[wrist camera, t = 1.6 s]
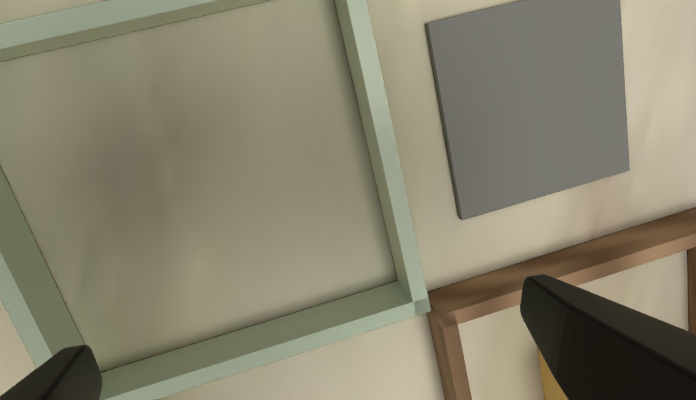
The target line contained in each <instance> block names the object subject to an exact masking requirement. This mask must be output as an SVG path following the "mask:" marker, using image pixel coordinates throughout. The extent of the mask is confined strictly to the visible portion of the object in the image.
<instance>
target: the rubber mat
mask: <svg viewBox="0 0 696 400" xmlns="http://www.w3.org/2000/svg"><path fill="white" fill-rule="evenodd" d="M425 26H426V32H427V38H428V43H429V49H430V55H431V61H432V66H433V72H434V78H435V83H436V89H437V95H438V101H439V106H440V112H441V118H442V123H443V129H444V135H445V140H446V146H447V152H448V158H449V163H450V169H451V175H452V180H453V186H454V192H455V197H456V203H457V209H458V215H459V218H460V219H461V220H465V219H468V218H472V217H475V216H478V215H482V214H485V213H488V212H492V211H495V210H498V209H502V208H505V207H508V206H512V205H515V204H519V203H522V202H525V201H529V200H532V199H535V198H539V197H542V196H545V195H549V194H552V193H555V192H559V191H562V190H565V189H569V188H572V187H576V186H579V185H582V184H586V183H589V182H592V181H596V180H599V179H602V178H606V177H609V176H612V175H616V174H619V173H623V172H626V171H629V170H630V169H629V151H628V133H627V115H626V98H625V80H624V62H623V44H622V27H621V9H620V0H521V1H517V2H513V3H509V4H505V5H501V6H497V7H492V8H488V9H484V10H480V11H476V12H472V13H468V14H464V15H459V16H455V17H451V18H447V19H443V20H439V21H435V22H431V23H427V24H425Z"/></svg>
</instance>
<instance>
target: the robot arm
mask: <svg viewBox="0 0 696 400" xmlns="http://www.w3.org/2000/svg"><path fill="white" fill-rule="evenodd" d="M520 311H521V315H522V318H523V320H524V322H525V324H526V326H527V328H528V330H529V331H530V333H531V335H532V337H533V339H534V341H535V343H536V345H537V347H538V349H539V350H540V352H541V354H542V356H543V358H544V360H545V362H546V364H547V366H548V368H549V369H550V371H551V373H552V375H553V376H554V378H555V380H556V381H557V383H558V385H559V386H560V388H561V389H562V391H563V392H564V394H565V395H566V397H567V398H568V400H696V334H694V333H691V332H689V331H686V330H684V329H681V328H679V327H676V326H674V325H671V324H669V323H666V322H664V321H661V320H659V319H656V318H654V317H651V316H649V315H646V314H644V313H641V312H639V311H636V310H634V309H631V308H629V307H626V306H624V305H621V304H619V303H616V302H614V301H611V300H608V299H606V298H603V297H601V296H598V295H596V294H593V293H591V292H588V291H586V290H583V289H581V288H578V287H576V286H573V285H571V284H568V283H566V282H563V281H561V280H558V279H556V278H553V277H551V276H548V275H546V274H538V275H531V276H527V277H526V278H525V279H524V281H523V288H522V296H521V304H520ZM101 390H102V376H101V373H100V370H99V368H98V365H97V363H96V360H95V357H94V355H93V352H92V350H91V348H90V347H89V346H88V345H85V344H84V345H77V346H70V347H66V348H63V349H62V350H60V351H59V352H58V353H56V354H55V355H54V356H52V357H51V358H50V359H48V360H47V361H46V362H45V363H43V364H42V365H41V366H39V367H38V368H37V369H35V370H34V371H33V372H31V373H30V374H29V375H28V376H26V377H25V378H24V379H22V380H21V381H20V382H18V383H17V384H16V385H14V386H13V387H12V388H11V389H9V390H8V391H7V392H5V393H4V394H3V395H1V396H0V400H99V399H100V395H101Z"/></svg>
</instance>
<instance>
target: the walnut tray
mask: <svg viewBox="0 0 696 400" xmlns="http://www.w3.org/2000/svg"><path fill="white" fill-rule="evenodd" d="M687 249H688V287H689V332H691V333H694V334H696V208H693V209H690V210H687V211H684V212H681V213H677V214H674V215H671V216H668V217H665V218H661V219H658V220H655V221H652V222H649V223H646V224H642V225H639V226H636V227H633V228H630V229H626V230H623V231H620V232H617V233H614V234H611V235H607V236H604V237H601V238H598V239H595V240H592V241H588V242H585V243H582V244H579V245H576V246H572V247H569V248H566V249H563V250H560V251H557V252H553V253H550V254H547V255H544V256H541V257H537V258H534V259H531V260H528V261H525V262H522V263H518V264H515V265H512V266H509V267H506V268H503V269H499V270H496V271H493V272H490V273H487V274H483V275H480V276H477V277H474V278H471V279H468V280H464V281H461V282H458V283H455V284H452V285H449V286H445V287H442V288H439V289H436V290H433V291H429V292H427V294H428V299H429V303H430V308H431V311H430V312H427V315H428V320H429V324H430V329H431V334H432V339H433V343H434V348H435V353H436V358H437V362H438V367H439V372H440V376H441V381H442V386H443V391H444V395H445V400H472V398H471V393H470V388H469V382H468V377H467V372H466V367H465V361H464V356H463V351H462V346H461V340H460V335H459V330H458V325H457V324H460V323H464V322H467V321H470V320H473V319H476V318H479V317H482V316H485V315H488V314H491V313H494V312H497V311H500V310H503V309H506V308H510V307H513V306H516V305H519V304H521V296H522V288H523V281H524V279H525V278H526V277H527V276H531V275H538V274H546V275H548V276H551V277H553V278H556V279H558V280H561V281H563V282H566V283H568V284H571V285H573V286H577V285H580V284H583V283H586V282H589V281H592V280H595V279H598V278H602V277H605V276H608V275H611V274H614V273H617V272H620V271H623V270H626V269H629V268H632V267H635V266H638V265H641V264H645V263H648V262H651V261H654V260H657V259H660V258H663V257H666V256H669V255H672V254H675V253H678V252H681V251H684V250H687Z"/></svg>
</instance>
